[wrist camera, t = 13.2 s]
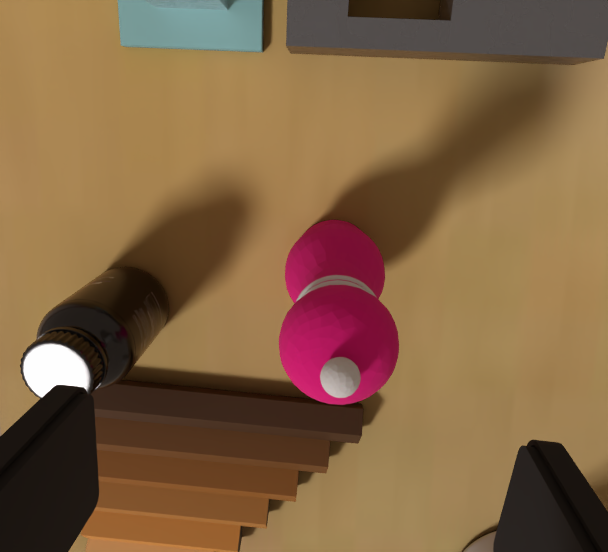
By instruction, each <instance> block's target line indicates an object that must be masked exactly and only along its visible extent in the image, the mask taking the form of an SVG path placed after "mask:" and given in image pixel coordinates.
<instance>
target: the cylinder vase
mask: <svg viewBox="0 0 608 552" xmlns="http://www.w3.org/2000/svg"><path fill="white" fill-rule="evenodd" d="M496 532H497V531H495V532H492V533H489V534H487V535H485V536H483V537H481V538H479V539H477V540H476V541H474V542H473V543H472V544H470V545H469V546H468V547H467V548H466V549H465V550H464V551H463V552H493V544H494V539H495V535H496Z"/></svg>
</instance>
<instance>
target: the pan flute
mask: <svg viewBox="0 0 608 552" xmlns="http://www.w3.org/2000/svg"><path fill="white" fill-rule="evenodd" d="M91 395H92V396H93V398H94V410H95V427H96V444H97V461H98V478H99V498H98V502H97V505H96V508H95V509H94V511H93V513H92V515H91V516H90V518H89V519H88V521H87V522H86V524H85V526H84V527H83V529H82V532H81V535H82V536H84V537H86V538H88V541H87V546H86V551H85V552H239V551H240V545H241V539H242V526H248V527H257V528H267V521H268V513H269V502H270V499H275V500H285V501H295V502H296V495H297V484H298V473H299V471H308V472H318V473H326V472H327V469H328V462H329V449H330V441H338V442H348V443H359V441H360V438H361V436H362V422H363V407H362V405H361V404H356V403H351V404H344V405H338V404H328V403H324V402H320V401H318V400H315V399H307V398H297V397H287V396H277V395H267V394H257V393H247V392H237V391H227V390H217V389H207V388H198V387H188V386H178V385H168V384H158V383H148V382H138V381H128V380H120V381H119V382H117V383H116V384H114V385H112V386H110V387H108V388H104V389H100V390H95V391H94V392H92V394H91Z"/></svg>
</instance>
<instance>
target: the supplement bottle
mask: <svg viewBox="0 0 608 552" xmlns="http://www.w3.org/2000/svg"><path fill="white" fill-rule="evenodd" d="M168 313H169V304H168V299H167V296H166V293H165V291H164V289H163V288H162V286H161V285H160V284H159V282H158V281H157V280H156V279H155V278H153V277H152V276H151V275H149V274H148V273H146V272H144V271H142V270H139V269H136V268H132V267H117V268H113V269H110V270H108V271H106V272H104V273H103V274H101V275H100V276H98V277H96V278H95V279H94V280H92V281H91V282H89V283H88V284H87V285H85V286H84V287H82V288H81V289H79V290H78V291H77V292H75V293H74V294H72V295H71V296H70V297H68V298H67V299H65V300H64V301H62V302H61V303H60V304H58V305H57V306H55V307H54V308H53V309H52V310H50V311H49V312H48V313H47V314H46V316H45V317H44V318H43V320H42V321H41V323H40V325H39V328H38V332H37V339H36V341H35V342H33V343H32V344H31V345H30V346H29V347H28V348H27V349H26V351H25V352H24V353H23V357H22V359H21V365H20V367H21V374H22V378H23V380H24V381H25V384H26V386H27V387H29V389H30V391H31V392H33V393H34V394H35V396H37V397H39V398H40V399H41V398H42V397H43V396H44V395H45V394H46V393H47V392H48V391H49V390H51V389H52V388H53V387H54V386H55V385H59V384H61V385H69V386H78V387H84V388H85V389H86V391H87V394H89V395H91V394H92V392H94V391H95V390H100V389H104V388H108V387H110V386H112V385H114V384H116V383H117V382H119V381H120V380H121V379H123V378H124V377H125V375H126V374H127V373H128V372H129V371H130V370H131V368H132V367H133V366H134V365H135V363H136V362H137V361H138V359H139V358H140V357H141V356H142V354H143V353H144V352H145V350H146V349H147V348H148V347H149V345H150V344H151V343H152V342H153V340H154V339H155V338H156V336H157V335H158V334H159V332H160V331H161V330H162V328H163V327H164V325H165V323H166V321H167V318H168Z"/></svg>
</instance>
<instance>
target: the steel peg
mask: <svg viewBox="0 0 608 552" xmlns="http://www.w3.org/2000/svg"><path fill="white" fill-rule="evenodd" d="M145 1H147V2H148V3H150V4H151V5H153V6H154V7H156V8H180V9H209V10H228V0H145Z"/></svg>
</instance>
